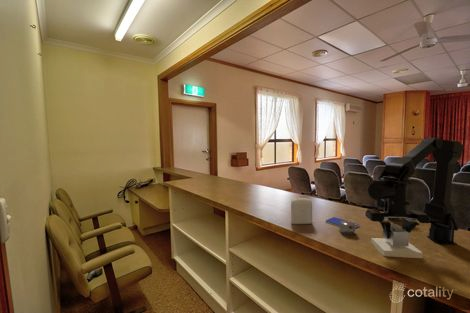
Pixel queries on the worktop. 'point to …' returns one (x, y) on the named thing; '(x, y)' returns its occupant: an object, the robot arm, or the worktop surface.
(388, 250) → the stand
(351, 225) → the tin
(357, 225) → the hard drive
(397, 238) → the housing
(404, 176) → the robot arm
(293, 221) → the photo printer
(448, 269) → the worktop surface
